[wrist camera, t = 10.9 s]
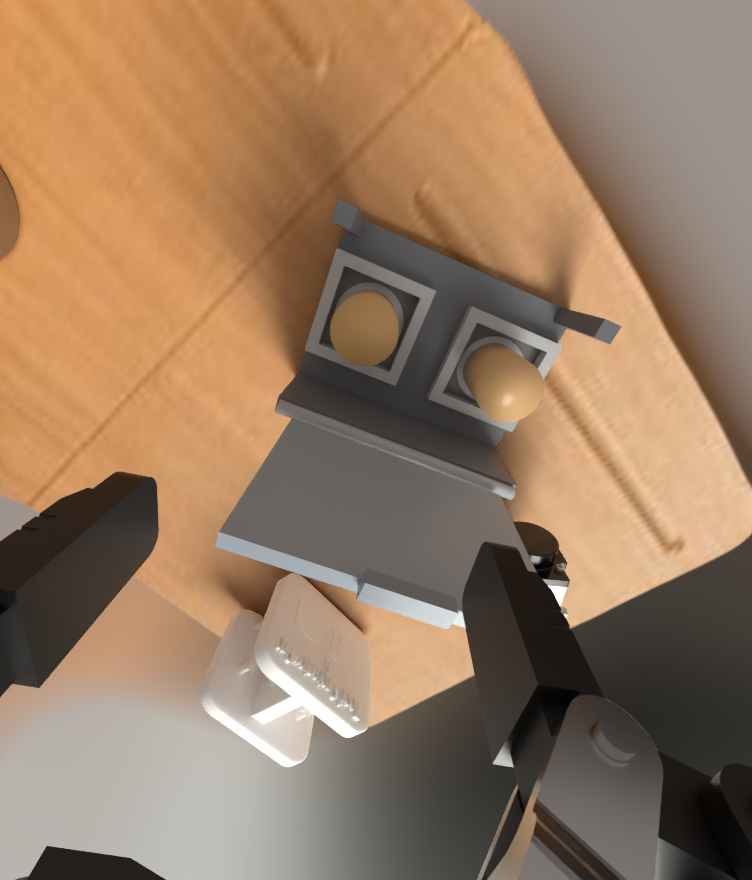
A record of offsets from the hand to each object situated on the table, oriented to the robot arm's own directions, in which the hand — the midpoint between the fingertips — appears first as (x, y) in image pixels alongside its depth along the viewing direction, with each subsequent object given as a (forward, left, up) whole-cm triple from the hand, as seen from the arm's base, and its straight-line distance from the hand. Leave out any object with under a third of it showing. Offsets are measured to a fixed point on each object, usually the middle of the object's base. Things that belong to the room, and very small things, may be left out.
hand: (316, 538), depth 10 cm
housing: (+5, +1, -26) cm, 27 cm away
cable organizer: (+5, -34, -27) cm, 43 cm away
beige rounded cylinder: (-1, +2, -25) cm, 25 cm away
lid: (+5, -4, -11) cm, 12 cm away
